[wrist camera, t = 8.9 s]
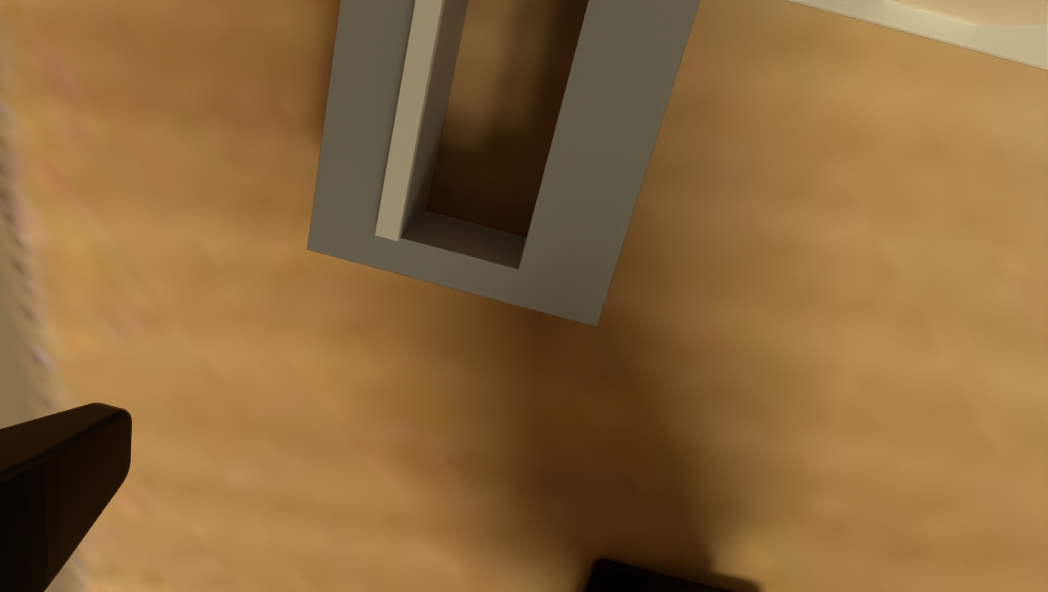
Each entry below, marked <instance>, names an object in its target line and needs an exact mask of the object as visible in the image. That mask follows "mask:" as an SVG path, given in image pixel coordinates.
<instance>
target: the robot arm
mask: <svg viewBox="0 0 1048 592" xmlns="http://www.w3.org/2000/svg"><path fill="white" fill-rule="evenodd" d="M131 436H132V418H131V415H130V413H129V412H128V411H127V410H125V409H122V408H118V407H114V406H111V405H107V404H103V403H91V404H88V405H84V406H80V407H77V408H73V409H70V410H66V411H63V412H59V413H56V414H52V415H49V416H45V417H41V418H38V419H34V420H31V421H27V422H24V423H20V424H17V425H13V426H10V427H6V428H2V429H0V592H44V591H45V590H46V589H47V587H48V586H49V585H50V584H51V582H52V581H53V580H54V578H55V577H56V576H57V574H58V573H59V572H60V570H61V569H62V568H63V566H64V565H65V563H66V562H67V561H68V559H69V558H70V556H71V555H72V554H73V552H74V551H75V549H76V548H77V547H78V545H79V544H80V542H81V541H82V540H83V538H84V537H85V535H86V534H87V533H88V531H89V530H90V528H91V527H92V526H93V524H94V523H95V521H96V520H97V519H98V517H99V516H100V514H101V513H102V512H103V510H104V509H105V507H106V506H107V505H108V503H109V502H110V500H111V499H112V498H113V496H114V495H115V493H116V492H117V491H118V489H119V488H120V486H121V485H122V483H123V482H124V480H125V478H126V476H127V474H128V471H129V468H130V462H131ZM600 573H608V574H609V575H606V576H602V575H600ZM581 592H728V591H724V590H720V589H717V588H713V587H709V586H705V585H702V584H698V583H694V582H690V581H687V580H683V579H679V578H675V577H671V576H668V575H664V574H660V573H656V572H653V571H649V570H645V569H641V568H638V567H634V566H630V565H626V564H623V563H619V562H615V561H611V560H607V559H600V560H597V561H595V562H593V564H592V565H591V567H590V569H589V572H588V575H587V578H586V580H585V583H584V586H583V588H582V591H581Z"/></svg>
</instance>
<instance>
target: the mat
mask: <svg viewBox="0 0 1048 592" xmlns="http://www.w3.org/2000/svg"><path fill="white" fill-rule="evenodd" d="M788 1H792V2H796V3H799V4H803V5H807V6H811V7H814V8H818V9H822V10H825V11H829V12H833V13H837V14H840V15H844V16H848V17H852V18H855V19H859V20H863V21H867V22H870V23H874V24H878V25H881V26H885V27H889V28H893V29H896V30H900V31H904V32H908V33H911V34H915V35H919V36H923V37H926V38H930V39H934V40H937V41H941V42H945V43H949V44H952V45H956V46H960V47H964V48H967V49H971V50H975V51H978V52H982V53H986V54H990V55H993V56H997V57H1001V58H1005V59H1008V60H1012V61H1016V62H1020V63H1023V64H1027V65H1031V66H1034V67H1038V68H1042V69H1046V70H1048V25H986V26H976V25H972V24H968V23H965V22H961V21H957V20H954V19H950V18H947V17H943V16H939V15H936V14H932V13H929V12H925V11H921V10H918V9H914V8H910V7H907V6H903V5H900V4H896V3H892V2H889V1H885V0H788Z"/></svg>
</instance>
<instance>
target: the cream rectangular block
mask: <svg viewBox="0 0 1048 592" xmlns="http://www.w3.org/2000/svg"><path fill="white" fill-rule="evenodd" d="M885 1H889V2H892V3H896V4H900V5H903V6H907V7H910V8H914V9H918V10H921V11H925V12H929V13H932V14H936V15H939V16H943V17H947V18H950V19H954V20H957V21H961V22H965V23H968V24H972V25H976V26H986V25H1048V0H885Z"/></svg>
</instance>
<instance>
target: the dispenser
mask: <svg viewBox="0 0 1048 592" xmlns="http://www.w3.org/2000/svg"><path fill="white" fill-rule="evenodd" d="M699 2H700V0H589V1H588V5H587V9H586V13H585V17H584V21H583V25H582V28H581V32H580V36H579V40H578V44H577V48H576V51H575V55H574V59H573V63H572V67H571V71H570V74H569V78H568V82H567V86H566V90H565V94H564V97H563V101H562V105H561V109H560V113H559V117H558V121H557V124H556V128H555V132H554V136H553V140H552V144H551V147H550V151H549V155H548V159H547V163H546V167H545V170H544V174H543V178H542V182H541V186H540V190H539V193H538V197H537V201H536V205H535V209H534V213H533V217H532V220H531V224H530V228H529V232H528V236H527V237H524V236H521V235H517V234H513V233H509V232H506V231H502V230H498V229H494V228H491V227H487V226H483V225H479V224H476V223H472V222H468V221H464V220H461V219H457V218H453V217H450V216H446V215H442V214H438V213H435V212H431V211H427V210H426V209H427V204H428V199H429V194H430V189H431V184H432V179H433V174H434V169H435V164H436V159H437V154H438V149H439V144H440V139H441V134H442V129H443V124H444V119H445V114H446V109H447V104H448V99H449V94H450V89H451V84H452V79H453V74H454V69H455V64H456V59H457V54H458V49H459V44H460V39H461V34H462V29H463V24H464V19H465V14H466V9H467V4H468V0H341V1H340V9H339V16H338V23H337V31H336V38H335V46H334V53H333V61H332V68H331V75H330V83H329V90H328V98H327V105H326V113H325V120H324V127H323V135H322V142H321V150H320V157H319V165H318V172H317V179H316V187H315V194H314V202H313V209H312V217H311V224H310V231H309V239H308V246H307V250H310V251H314V252H318V253H322V254H325V255H329V256H333V257H337V258H340V259H344V260H348V261H352V262H355V263H359V264H363V265H367V266H370V267H374V268H378V269H382V270H385V271H389V272H393V273H397V274H400V275H404V276H408V277H412V278H415V279H419V280H423V281H427V282H430V283H434V284H438V285H442V286H445V287H449V288H453V289H457V290H460V291H464V292H468V293H472V294H475V295H479V296H483V297H487V298H490V299H494V300H498V301H502V302H505V303H509V304H513V305H517V306H520V307H524V308H528V309H532V310H535V311H539V312H543V313H547V314H550V315H554V316H558V317H562V318H565V319H569V320H573V321H577V322H580V323H584V324H588V325H592V326H595V327H597V324H598V321H599V318H600V315H601V311H602V308H603V305H604V302H605V299H606V296H607V292H608V289H609V286H610V283H611V280H612V277H613V274H614V270H615V267H616V264H617V261H618V258H619V255H620V251H621V248H622V245H623V242H624V239H625V236H626V232H627V229H628V226H629V223H630V220H631V217H632V214H633V210H634V207H635V204H636V201H637V198H638V195H639V191H640V188H641V185H642V182H643V179H644V176H645V173H646V169H647V166H648V163H649V160H650V157H651V154H652V150H653V147H654V144H655V141H656V138H657V135H658V131H659V128H660V125H661V122H662V119H663V116H664V113H665V109H666V106H667V103H668V100H669V97H670V94H671V90H672V87H673V84H674V81H675V78H676V75H677V72H678V68H679V65H680V62H681V59H682V56H683V53H684V49H685V46H686V43H687V40H688V37H689V34H690V30H691V27H692V24H693V21H694V18H695V15H696V12H697V8H698V5H699Z"/></svg>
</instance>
